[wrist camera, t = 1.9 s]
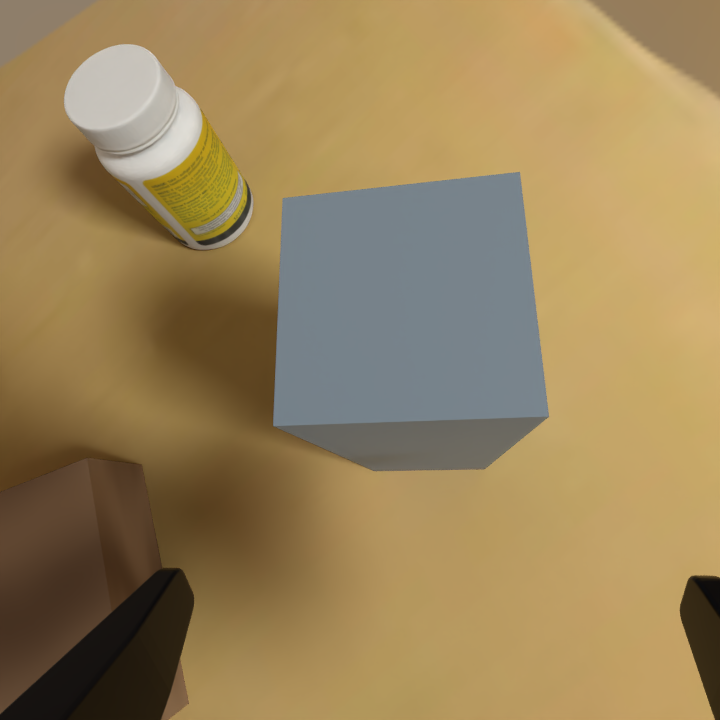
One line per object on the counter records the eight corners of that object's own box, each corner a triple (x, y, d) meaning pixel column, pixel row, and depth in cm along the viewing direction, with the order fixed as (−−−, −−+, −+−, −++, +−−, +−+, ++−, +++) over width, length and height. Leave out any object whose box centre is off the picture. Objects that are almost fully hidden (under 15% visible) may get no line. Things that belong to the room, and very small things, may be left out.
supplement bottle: (266, 179, 26) (187, 36, 18) (241, 258, 25) (146, 143, 17) (187, 171, 27) (80, 33, 19) (159, 246, 26) (33, 133, 18)
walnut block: (192, 700, 20) (133, 746, 16) (17, 764, 20) (-81, 824, 16) (145, 465, 23) (87, 457, 19) (-5, 524, 23) (-92, 528, 20)
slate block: (484, 469, 20) (548, 416, 8) (374, 471, 21) (272, 425, 8) (476, 362, 21) (519, 171, 9) (372, 367, 22) (282, 198, 10)
